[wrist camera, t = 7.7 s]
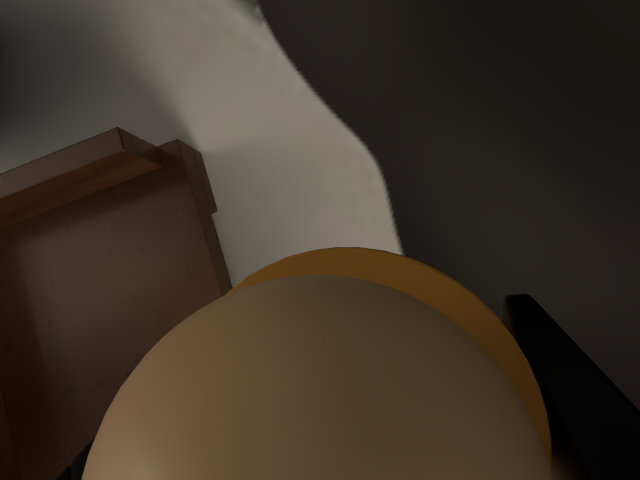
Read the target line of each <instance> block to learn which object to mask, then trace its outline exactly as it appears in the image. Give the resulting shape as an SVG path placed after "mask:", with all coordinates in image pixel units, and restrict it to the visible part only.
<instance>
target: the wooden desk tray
mask: <svg viewBox="0 0 640 480" xmlns="http://www.w3.org/2000/svg"><path fill="white" fill-rule="evenodd" d="M214 212H217V207H216V203H215V200H214V196H213V193H212V189H211V186H210V182H209V179H208V176H207V172H206V169H205V165H204V162H203V158H202V155H201V153H200V152H198V151H197V150H195V149H193V148H192V147H190V146H189V145H187V144H185V143H184V142H182V141H180V140H179V139H176V140H173V141H171V142H168V143H166V144H163V145H160V146H158V147H156V146H154V145H152V144H150V143H148V142H146V141H144V140H142V139H140V138H138V137H136V136H134V135H133V134H131V133H129V132H127V131H125V130H123V129H121V128H119V127H116V128H114V129H111V130H109V131H106V132H104V133H101V134H99V135H96V136H94V137H91V138H89V139H86V140H84V141H81V142H79V143H76V144H74V145H71V146H69V147H66V148H64V149H61V150H59V151H56V152H54V153H51V154H49V155H46V156H44V157H41V158H39V159H36V160H34V161H31V162H29V163H26V164H24V165H21V166H19V167H16V168H14V169H11V170H9V171H6V172H4V173H1V174H0V480H55V478H56V477H57V476H58V475H59V474H60V473H61V472H62V471H63V470H64V469H65V468H66V467H67V466H70V464H71V461H72V460H73V459H74V458H75V457H76V456H77V455H78V454H79V452H80V451H81V450H82V449H83V448H84V447H85V446H86V445H87V444H88V443H89V441H90V440H91V439H92V438H93V437H94V436H95V435H96V434H97V433H98V430H99V428H100V425H101V423H102V421H103V418H104V416H105V414H106V412H107V410H108V408H109V407H110V405H111V403H112V401H113V400H114V398H115V396H116V394H117V393H118V391H119V389H120V388H121V386H122V385H123V384H124V382H125V381H126V380H127V378H128V377H129V376H130V374H131V373H132V372H133V370H134V369H135V368H136V367H137V365H138V364H139V363H140V361H141V360H142V359H143V358H144V356H145V355H146V354H147V353H148V352H149V351H150V350H151V349H152V348H153V347H154V346H155V345H156V344H157V343H158V342H159V341H160V340H161V339H162V338H163V337H164V336H165V335H166V334H167V333H168V332H169V331H171V330H172V329H173V328H175V327H176V326H177V325H178V324H180V323H181V322H182V321H184V320H185V319H186V318H187V317H189V316H190V315H192V314H193V313H195V312H196V311H198V310H200V309H201V308H203V307H205V306H206V305H208V304H210V303H212V302H213V301H215V300H217V299H218V298H220V297H222V296H225V295H226V294H227V293H228V292H229V291H230V290H231V289H233V288H232V284H231V281H230V277H229V274H228V270H227V267H226V263H225V260H224V257H223V253H222V250H221V246H220V243H219V239H218V236H217V232H216V229H215V225H214V222H213V218H212V215H211V213H214Z"/></svg>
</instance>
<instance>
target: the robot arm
mask: <svg viewBox="0 0 640 480" xmlns="http://www.w3.org/2000/svg"><path fill="white" fill-rule="evenodd" d="M502 323H503V324H504V326H505V327H506V328H507V329H508V331H509V332H510V333H511V334H512V336H513V337H514V339H515V340H516V342H517V344H518V345H519V347H520V349H521V350H522V352H523V354H524V355H525V357H526V359H527V360H528V362H529V365H530V367H531V369H532V371H533V374H534V376H535V378H536V380H537V383H538V385H539V388H540V391H541V395H542V398H543V401H544V405H545V408H546V411H547V416H548V423H549V429H550V435H551V447H552V476H553V479H554V480H640V411H639V410H638V409H637V408H636V407H635V406H634V404H633V403H632V402H631V401H630V400H629V399H628V398H627V397H626V396H625V395H624V394H623V393H622V392H621V391H620V390H619V389H618V388H617V387H616V385H615V384H614V383H613V382H612V381H611V380H610V379H609V378H608V377H607V376H606V375H605V374H604V373H603V372H602V371H601V370H600V369H599V367H598V366H597V365H596V364H595V363H594V362H593V361H592V360H591V359H590V358H589V357H588V356H587V355H586V354H585V353H584V352H583V351H582V350H581V348H580V347H579V346H578V345H577V344H576V343H575V342H574V341H573V340H572V339H571V338H570V337H569V336H568V335H567V334H566V333H565V332H564V331H563V330H562V328H561V327H560V326H559V325H558V324H557V323H556V322H555V321H554V320H553V319H552V318H551V317H550V316H549V315H548V314H547V313H546V312H545V310H544V309H543V308H542V307H541V306H540V305H539V304H538V303H537V302H536V301H535V300H534V299H533V298H532V297H531V296H530V295H527V294H519V295H507V296H505V297H504V299H503V314H502ZM96 435H97V434H96ZM96 435H95V436H94V437H93V438H92V439H91V440H90V441H89V443H88V444H87V445H86V446H85V447H84V448H83V449H82V450H81V451H80V452H79V454H78V455H77V456H76V457H75V458H74V459H73V460H72V461H71V464H70V466H67V467H66V468H65V469H64V470H63V471H62V472H61V473H60V474H59V475H58V476H57V477H56V478H55V480H81V479H82V475H83V472H84V468H85V465H86V461H87V458H88V455H89V452H90V450H91V447H92V445H93V442H94V440H95V437H96Z"/></svg>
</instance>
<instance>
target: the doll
mask: <svg viewBox="0 0 640 480" xmlns="http://www.w3.org/2000/svg"><path fill="white" fill-rule="evenodd" d="M81 480H554V479H553V476H552V447H551V435H550V429H549V423H548V416H547V411H546V408H545V405H544V401H543V398H542V395H541V391H540V388H539V385H538V383H537V380H536V378H535V376H534V374H533V371H532V369H531V367H530V365H529V362H528V360H527V359H526V357H525V355H524V354H523V352H522V350H521V349H520V347H519V345H518V344H517V342H516V340H515V339H514V337H513V336H512V334H511V333H510V332H509V331H508V329H507V328H506V327H505V326H504V324H503V323H502V322H501V321H500V319H499V318H498V317H497V316H496V315H495V314H494V313H493V312H492V311H491V310H490V309H489V308H488V307H487V306H486V305H485V304H484V303H483V302H482V301H481V300H480V299H479V298H478V297H477V296H476V295H474V294H473V293H472V292H470V291H469V290H468V289H466V288H465V287H464V286H463V285H461V284H460V283H459V282H457V281H456V280H454V279H453V278H451V277H449V276H447V275H445V274H444V273H442V272H440V271H438V270H437V269H435V268H433V267H431V266H429V265H426V264H424V263H421V262H419V261H417V260H414V259H412V258H409V257H406V256H402V255H399V254H395V253H391V252H387V251H383V250H375V249H368V248H360V247H334V248H327V249H319V250H312V251H308V252H304V253H300V254H297V255H293V256H289V257H287V258H284V259H282V260H279V261H277V262H275V263H272V264H270V265H268V266H266V267H264V268H262V269H260V270H259V271H257V272H255V273H254V274H252V275H250V276H249V277H247V278H245V279H244V280H243V281H242V282H240V283H239V284H238V285H236V286H235V287H234V288H233V289H231V290H230V291H229V292H228V293H227V294H226V295H225V296H222V297H220V298H218V299H217V300H215V301H213V302H212V303H210V304H208V305H206V306H205V307H203V308H201V309H200V310H198V311H196V312H195V313H193V314H192V315H190V316H189V317H187V318H186V319H185V320H184V321H182V322H181V323H180V324H178V325H177V326H176V327H175V328H173V329H172V330H171V331H169V332H168V333H167V334H166V335H165V336H164V337H163V338H162V339H161V340H160V341H159V342H158V343H157V344H156V345H155V346H154V347H153V348H152V349H151V350H150V351H149V352H148V353H147V354H146V355H145V356H144V358H143V359H142V360H141V361H140V363H139V364H138V365H137V367H136V368H135V369H134V370H133V372H132V373H131V374H130V376H129V377H128V378H127V380H126V381H125V382H124V384H123V385H122V386H121V388H120V389H119V391H118V393H117V394H116V396H115V398H114V400H113V401H112V403H111V405H110V407H109V408H108V410H107V412H106V414H105V416H104V418H103V421H102V423H101V425H100V428H99V430H98V433H97V435H96V437H95V440H94V442H93V445H92V447H91V450H90V452H89V455H88V458H87V461H86V465H85V468H84V472H83V475H82V479H81Z"/></svg>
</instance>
